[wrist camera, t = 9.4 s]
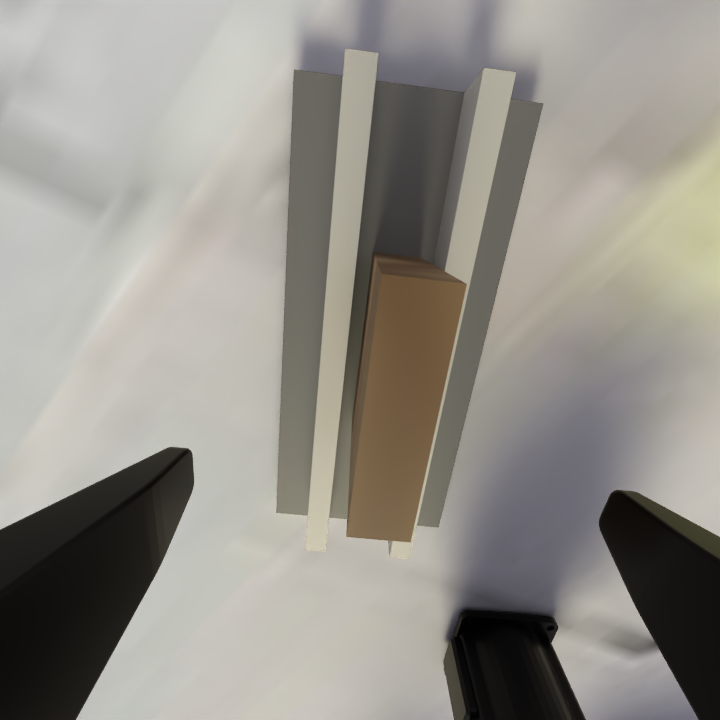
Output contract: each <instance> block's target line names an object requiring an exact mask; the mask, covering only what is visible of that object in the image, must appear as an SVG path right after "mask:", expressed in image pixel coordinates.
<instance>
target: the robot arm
mask: <svg viewBox="0 0 720 720" xmlns="http://www.w3.org/2000/svg"><path fill="white" fill-rule="evenodd" d="M193 486H194V472H193V456H192V452H191V450H189V449H188V448H179V447H169V448H166V449H164V450H162V451H160V452H158V453H156V454H154V455H152V456H150V457H148V458H146V459H144V460H142V461H140V462H138V463H136V464H134V465H132V466H130V467H127V468H125V469H123V470H121V471H119V472H117V473H115V474H113V475H111V476H109V477H107V478H105V479H103V480H101V481H99V482H97V483H95V484H93V485H91V486H89V487H87V488H85V489H83V490H81V491H78V492H76V493H74V494H72V495H70V496H68V497H66V498H64V499H62V500H60V501H58V502H56V503H54V504H52V505H50V506H48V507H46V508H44V509H42V510H40V511H38V512H36V513H33V514H31V515H29V516H27V517H25V518H23V519H21V520H19V521H17V522H15V523H13V524H11V525H9V526H7V527H5V528H3V529H1V530H0V720H76V719H77V717H78V715H79V713H80V711H81V709H82V708H83V706H84V704H85V702H86V700H87V699H88V697H89V695H90V693H91V691H92V689H93V688H94V686H95V684H96V682H97V680H98V679H99V677H100V675H101V673H102V671H103V670H104V668H105V666H106V664H107V662H108V660H109V659H110V657H111V655H112V653H113V651H114V650H115V648H116V646H117V644H118V642H119V640H120V639H121V637H122V635H123V633H124V631H125V630H126V628H127V626H128V624H129V622H130V620H131V619H132V617H133V615H134V613H135V611H136V610H137V608H138V606H139V604H140V602H141V601H142V599H143V597H144V595H145V593H146V591H147V590H148V588H149V586H150V584H151V582H152V581H153V579H154V577H155V575H156V573H157V571H158V569H159V567H160V565H161V563H162V561H163V559H164V557H165V554H166V552H167V550H168V547H169V545H170V543H171V540H172V538H173V536H174V533H175V531H176V529H177V526H178V524H179V522H180V519H181V517H182V514H183V512H184V510H185V507H186V505H187V503H188V500H189V498H190V496H191V493H192V490H193ZM599 527H600V531H601V533H602V536H603V538H604V540H605V542H606V544H607V546H608V549H609V551H610V553H611V555H612V557H613V559H614V562H615V564H616V566H617V568H618V570H619V572H620V575H621V577H622V579H623V581H624V583H625V586H626V588H627V590H628V592H629V594H630V596H631V598H632V600H633V602H634V604H635V606H636V608H637V610H638V612H639V614H640V616H641V618H642V619H643V621H644V623H645V625H646V627H647V628H648V630H649V632H650V634H651V635H652V637H653V639H654V641H655V643H656V644H657V646H658V648H659V650H660V651H661V653H662V655H663V657H664V659H665V660H666V662H667V664H668V666H669V667H670V669H671V671H672V673H673V675H674V676H675V678H676V680H677V682H678V684H679V685H680V687H681V689H682V691H683V692H684V694H685V696H686V698H687V700H688V701H689V703H690V705H691V707H692V708H693V710H694V712H695V714H696V716H697V717H698V719H699V720H720V537H719V536H717V535H715V534H713V533H711V532H710V531H708V530H706V529H704V528H702V527H700V526H698V525H697V524H695V523H693V522H691V521H689V520H687V519H685V518H684V517H682V516H680V515H678V514H676V513H674V512H672V511H671V510H669V509H667V508H665V507H663V506H661V505H660V504H658V503H656V502H654V501H652V500H650V499H648V498H647V497H645V496H643V495H641V494H639V493H637V492H634V491H624V490H615V491H613V492H612V493H611V494H610V496H609V498H608V500H607V503H606V505H605V507H604V509H603V512H602V514H601V516H600V519H599ZM557 630H558V625H557V623H556V621H555V619H554V618H552V617H545V616H533V615H521V614H509V613H497V612H485V611H473V610H465V611H463V612H461V614H460V616H459V619H458V623H457V626H456V629H455V632H454V635H453V637H452V638H451V639H450V642H449V645H448V648H447V652H446V655H445V658H444V672H445V675H446V679H447V684H448V689H449V695H450V700H451V705H452V711H453V716H454V720H586V719H585V717H584V714H583V712H582V710H581V708H580V706H579V703H578V701H577V699H576V697H575V694H574V692H573V690H572V688H571V686H570V683H569V681H568V679H567V677H566V675H565V672H564V670H563V668H562V666H561V664H560V661H559V659H558V657H557V655H556V653H555V650H554V648H553V646H552V644H551V643H552V640H553V638H554V636H555V634H556V632H557Z"/></svg>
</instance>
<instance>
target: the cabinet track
mask: <svg viewBox="0 0 720 720" xmlns="http://www.w3.org/2000/svg"><path fill="white" fill-rule="evenodd" d="M377 63H378V53H374V52H367V51H360V50H353V49H346V48H345V55H344V68H343V76H338V75H330V74H323V73H316V72H308V71H301V70H294V82H293V107H292V132H291V157H290V182H289V208H288V233H287V258H286V283H285V308H284V333H283V358H282V384H281V409H280V434H279V459H278V484H277V509H276V513H286V514H296V515H307V516H308V520H307V533H306V545H305V550H314V551H326V541H327V532H328V523H329V518H340V519H347V515H348V494H349V473H350V453H351V432H352V417H353V409H354V401H355V392H356V384H357V376H358V368H359V360H360V352H361V343H362V335H363V327H364V319H365V311H366V303H367V294H368V286H369V278H370V270H371V262H372V254H373V252H378V253H386V254H394V255H403V256H411V257H419V258H422V259H424V260H426V261H427V262H429V263H431V264H433V265H434V266H436V267H438V268H440V269H441V270H443V271H445V272H447V273H449V274H450V275H452V276H454V277H456V278H457V279H459V280H461V281H463V282H464V283H466V284H467V286H466V291H465V295H464V300H463V304H462V309H461V314H460V318H459V323H458V327H457V332H456V337H455V341H454V346H453V350H452V355H451V359H450V364H449V369H448V373H447V378H446V382H445V387H444V392H443V396H442V401H441V405H440V410H439V414H438V419H437V424H436V428H435V433H434V437H433V442H432V447H431V451H430V456H429V460H428V465H427V469H426V474H425V479H424V483H423V488H422V492H421V497H420V502H419V506H418V511H417V515H416V520H415V524H414V529H413V534H412V538H411V543H410V542H399V541H388V544H389V556H390V557H394V558H405V559H410V555H411V550H412V545H413V541H414V536H415V532H416V527H417V526H428V527H439V523H440V519H441V515H442V511H443V507H444V503H445V499H446V494H447V490H448V486H449V482H450V478H451V474H452V470H453V466H454V462H455V458H456V454H457V450H458V446H459V442H460V438H461V434H462V430H463V426H464V422H465V418H466V414H467V410H468V406H469V402H470V398H471V393H472V389H473V385H474V381H475V377H476V373H477V369H478V365H479V361H480V357H481V353H482V349H483V345H484V341H485V337H486V333H487V329H488V325H489V321H490V317H491V313H492V309H493V305H494V301H495V297H496V293H497V288H498V284H499V280H500V276H501V272H502V268H503V264H504V260H505V256H506V252H507V248H508V244H509V240H510V236H511V232H512V228H513V224H514V220H515V216H516V212H517V208H518V204H519V200H520V196H521V192H522V187H523V183H524V179H525V175H526V171H527V167H528V163H529V159H530V155H531V151H532V147H533V143H534V139H535V135H536V131H537V127H538V123H539V119H540V115H541V111H542V107H543V103H536V102H529V101H521V100H514V99H511V95H512V90H513V86H514V81H515V76H516V72H511V71H504V70H496V69H489V68H483V70H482V71H481V72H480V73H479V75H478V76H477V77H476V79H475V80H474V81H473V82H472V84H471V85H470V86H469V87H468V89H467V90H466V91H465V93H462V92H455V91H448V90H440V89H433V88H426V87H418V86H411V85H404V84H396V83H389V82H382V81H376V73H377Z"/></svg>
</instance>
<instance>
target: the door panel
mask: <svg viewBox="0 0 720 720" xmlns="http://www.w3.org/2000/svg"><path fill="white" fill-rule="evenodd" d="M466 286H467V284H466V283H464V282H463V281H461V280H459V279H457V278H456V277H454V276H452V275H450V274H449V273H447V272H445V271H443V270H441V269H440V268H438V267H436V266H434V265H433V264H431V263H429V262H427V261H426V260H424V259H422V258H419V257H411V256H403V255H394V254H386V253H378V252H373V254H372V262H371V270H370V278H369V286H368V294H367V303H366V311H365V319H364V327H363V335H362V343H361V352H360V360H359V368H358V376H357V384H356V392H355V401H354V409H353V417H352V432H351V453H350V473H349V494H348V515H347V536H346V537H355V538H366V539H377V540H388V541H399V542H410V543H411V538H412V534H413V529H414V524H415V520H416V515H417V511H418V506H419V502H420V497H421V492H422V488H423V483H424V479H425V474H426V469H427V465H428V460H429V456H430V451H431V447H432V442H433V437H434V433H435V428H436V424H437V419H438V414H439V410H440V405H441V401H442V396H443V392H444V387H445V382H446V378H447V373H448V369H449V364H450V359H451V355H452V350H453V346H454V341H455V337H456V332H457V327H458V323H459V318H460V314H461V309H462V304H463V300H464V295H465V291H466Z"/></svg>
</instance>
